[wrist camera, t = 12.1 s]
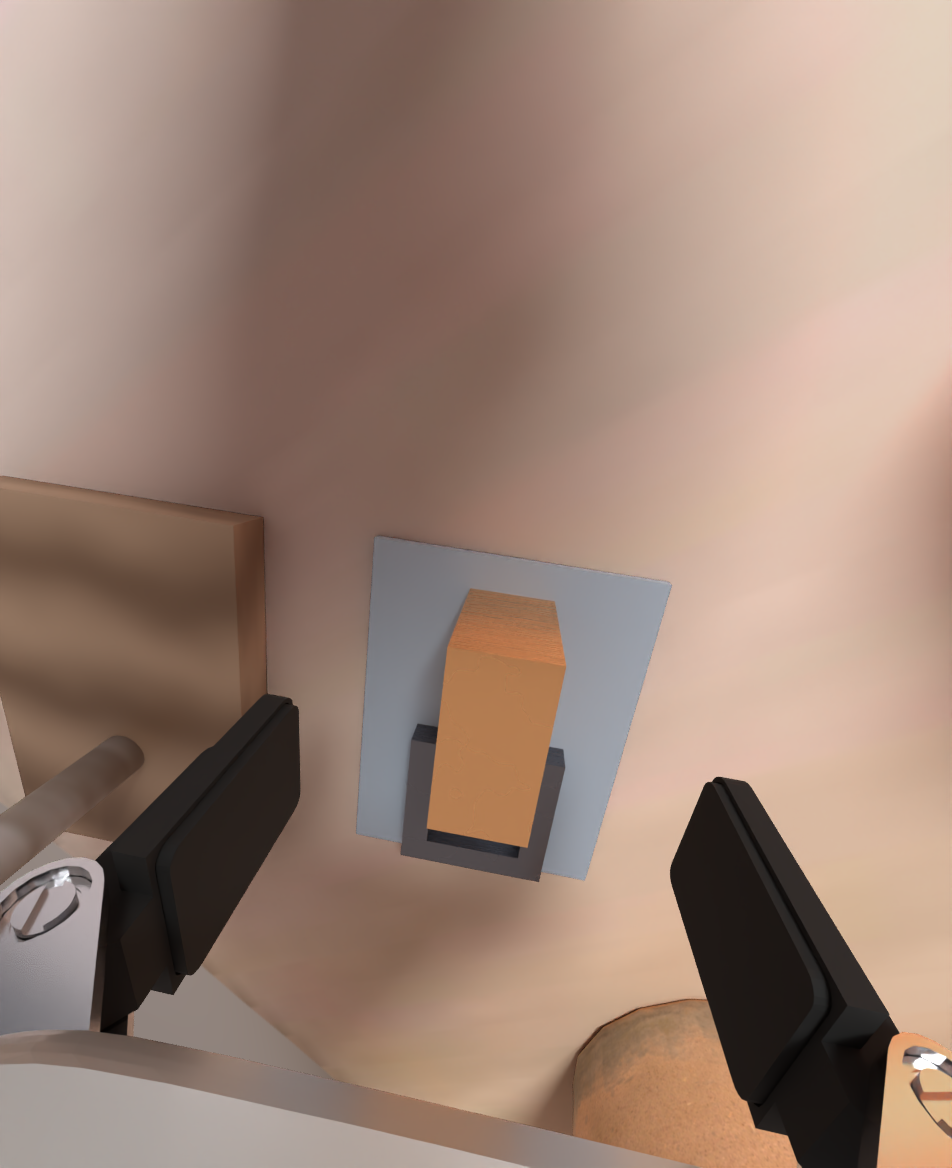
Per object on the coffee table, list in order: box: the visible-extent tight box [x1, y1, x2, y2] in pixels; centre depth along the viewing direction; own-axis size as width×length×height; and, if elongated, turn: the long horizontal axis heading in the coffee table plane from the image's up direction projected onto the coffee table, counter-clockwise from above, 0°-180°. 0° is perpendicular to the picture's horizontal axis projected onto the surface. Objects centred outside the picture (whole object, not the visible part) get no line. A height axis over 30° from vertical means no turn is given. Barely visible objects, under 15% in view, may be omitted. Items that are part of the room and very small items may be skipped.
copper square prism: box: [401, 588, 566, 882], centre depth 18 cm, size 14×7×6 cm, turn 173°
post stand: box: [0, 476, 267, 885], centre depth 16 cm, size 18×12×12 cm, turn 172°
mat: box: [356, 536, 672, 881], centre depth 20 cm, size 16×12×1 cm
